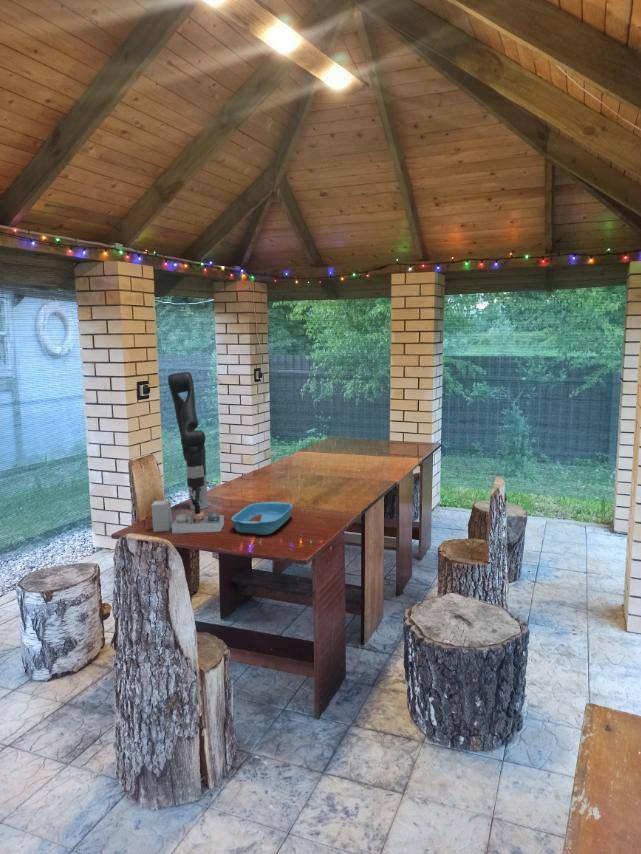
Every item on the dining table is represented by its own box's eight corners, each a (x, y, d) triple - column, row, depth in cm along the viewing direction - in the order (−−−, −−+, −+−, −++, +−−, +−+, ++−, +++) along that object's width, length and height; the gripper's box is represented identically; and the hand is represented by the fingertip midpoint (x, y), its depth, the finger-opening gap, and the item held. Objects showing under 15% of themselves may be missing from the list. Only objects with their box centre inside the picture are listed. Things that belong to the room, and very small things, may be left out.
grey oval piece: (178, 528, 266) (177, 514, 265) (190, 528, 266) (189, 513, 266) (176, 532, 261) (175, 517, 260) (187, 531, 261) (186, 517, 260)
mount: (178, 527, 270) (177, 516, 269) (224, 525, 270) (223, 515, 269) (172, 535, 258) (171, 524, 257) (220, 533, 258) (219, 522, 258)
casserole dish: (254, 513, 289) (253, 499, 288) (298, 515, 284) (297, 501, 283) (224, 537, 253) (224, 521, 253) (274, 540, 248) (273, 523, 247)
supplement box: (172, 526, 271) (171, 499, 270) (169, 531, 264) (167, 504, 262) (156, 527, 271) (154, 500, 269) (152, 532, 264) (150, 504, 262)
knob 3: (209, 527, 267) (208, 512, 266) (221, 526, 267) (220, 512, 266) (207, 530, 261) (206, 516, 261) (219, 530, 262) (218, 515, 261)
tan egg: (194, 526, 266) (193, 511, 265) (205, 525, 266) (204, 511, 266) (191, 529, 261) (190, 515, 260) (203, 529, 261) (202, 514, 260)
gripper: (189, 472, 267) (192, 509, 269) (183, 479, 254) (186, 517, 256) (206, 472, 267) (208, 509, 270) (201, 478, 254) (203, 517, 256)
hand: (197, 513), depth 263 cm, fingers closed
